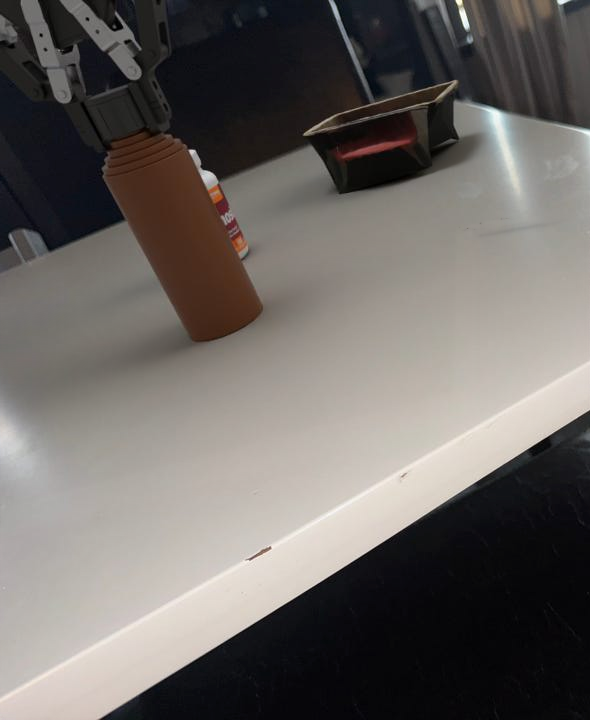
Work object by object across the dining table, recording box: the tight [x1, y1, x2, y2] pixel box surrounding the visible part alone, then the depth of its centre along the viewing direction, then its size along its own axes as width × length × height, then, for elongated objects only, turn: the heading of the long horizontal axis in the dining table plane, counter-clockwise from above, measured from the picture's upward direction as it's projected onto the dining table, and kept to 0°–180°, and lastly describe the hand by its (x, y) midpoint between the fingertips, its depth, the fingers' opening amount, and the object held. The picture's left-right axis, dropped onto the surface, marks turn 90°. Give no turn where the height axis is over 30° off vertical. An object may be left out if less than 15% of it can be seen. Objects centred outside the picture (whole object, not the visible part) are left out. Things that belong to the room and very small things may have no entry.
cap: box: [83, 83, 148, 140], centre depth 55 cm, size 4×4×3 cm
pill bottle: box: [188, 149, 249, 260], centre depth 76 cm, size 6×6×11 cm
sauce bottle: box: [101, 126, 264, 342], centre depth 60 cm, size 6×6×18 cm
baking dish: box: [302, 79, 460, 195], centre depth 89 cm, size 14×18×10 cm
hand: (134, 138), depth 56 cm, fingers closed on cap, 4 cm apart
